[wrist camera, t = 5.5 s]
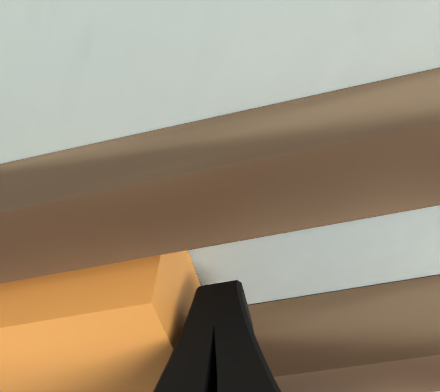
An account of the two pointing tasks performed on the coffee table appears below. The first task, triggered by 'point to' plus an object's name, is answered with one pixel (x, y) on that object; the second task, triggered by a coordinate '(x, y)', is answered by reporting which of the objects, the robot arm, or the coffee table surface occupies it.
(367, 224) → the coffee table surface
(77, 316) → the block
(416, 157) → the walnut chute
